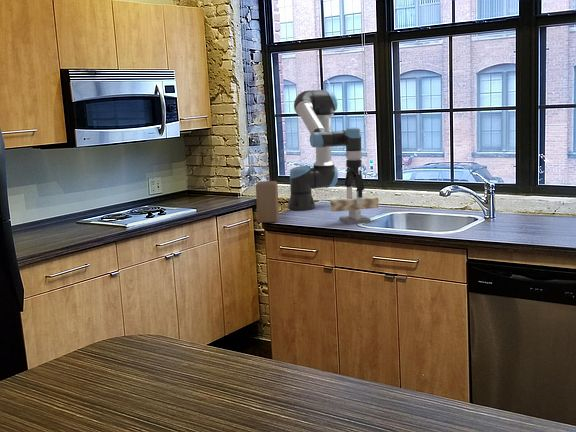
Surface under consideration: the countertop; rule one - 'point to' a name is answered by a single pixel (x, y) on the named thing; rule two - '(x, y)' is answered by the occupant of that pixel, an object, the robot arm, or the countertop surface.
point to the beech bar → (353, 204)
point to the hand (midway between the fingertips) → (354, 201)
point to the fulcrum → (354, 217)
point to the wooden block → (267, 201)
